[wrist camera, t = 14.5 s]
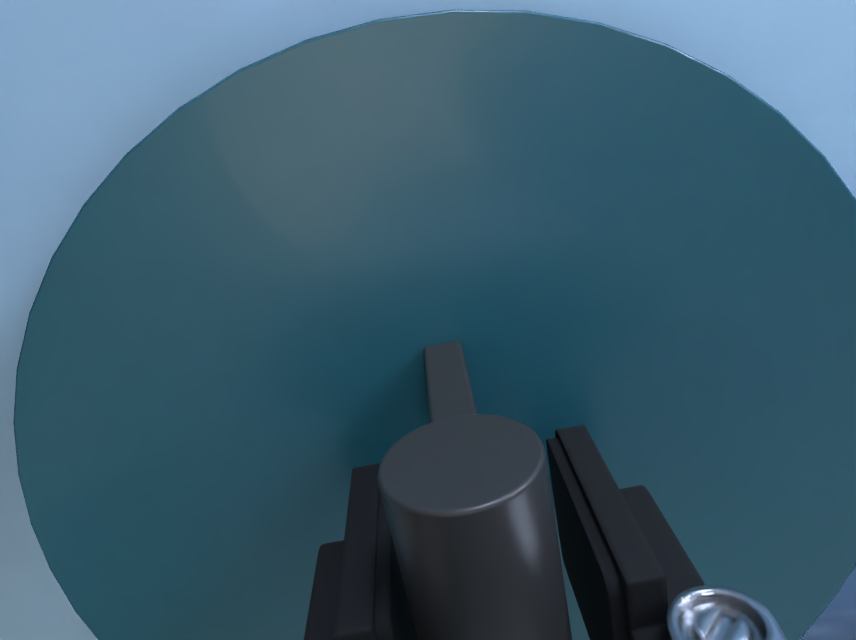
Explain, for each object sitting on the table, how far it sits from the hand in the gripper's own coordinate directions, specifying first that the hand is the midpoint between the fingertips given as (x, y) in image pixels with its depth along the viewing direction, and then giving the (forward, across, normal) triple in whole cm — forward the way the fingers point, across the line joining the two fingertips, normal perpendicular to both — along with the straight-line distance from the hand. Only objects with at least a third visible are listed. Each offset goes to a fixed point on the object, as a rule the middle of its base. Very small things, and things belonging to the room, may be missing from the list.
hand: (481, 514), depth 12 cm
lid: (+1, 0, 0) cm, 1 cm away
